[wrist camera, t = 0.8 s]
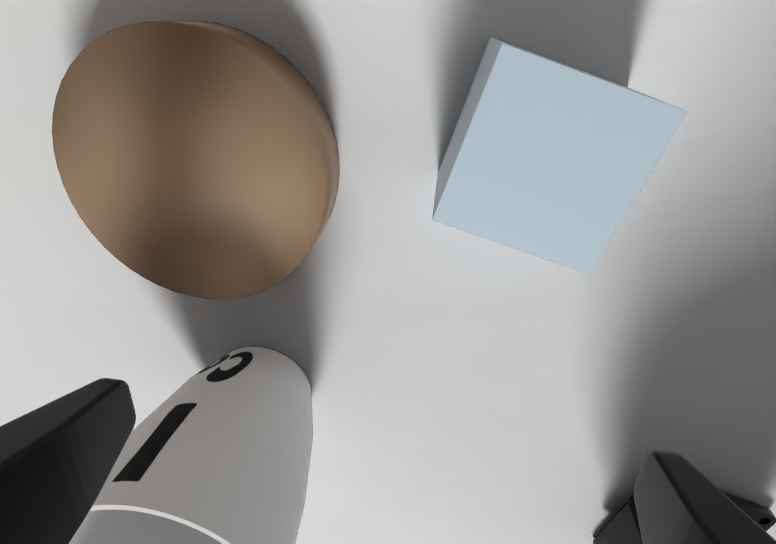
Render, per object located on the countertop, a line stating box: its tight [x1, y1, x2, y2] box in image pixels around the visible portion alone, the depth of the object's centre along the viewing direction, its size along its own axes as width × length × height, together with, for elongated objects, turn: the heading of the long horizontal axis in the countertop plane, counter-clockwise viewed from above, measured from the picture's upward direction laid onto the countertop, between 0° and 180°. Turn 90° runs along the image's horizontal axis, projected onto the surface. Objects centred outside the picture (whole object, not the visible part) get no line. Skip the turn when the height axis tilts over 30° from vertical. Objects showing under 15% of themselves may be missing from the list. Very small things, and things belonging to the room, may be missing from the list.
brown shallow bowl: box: [52, 21, 339, 299], centre depth 19 cm, size 10×10×2 cm
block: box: [432, 37, 688, 275], centre depth 16 cm, size 5×5×5 cm
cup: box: [69, 347, 313, 544], centre depth 21 cm, size 8×8×10 cm
